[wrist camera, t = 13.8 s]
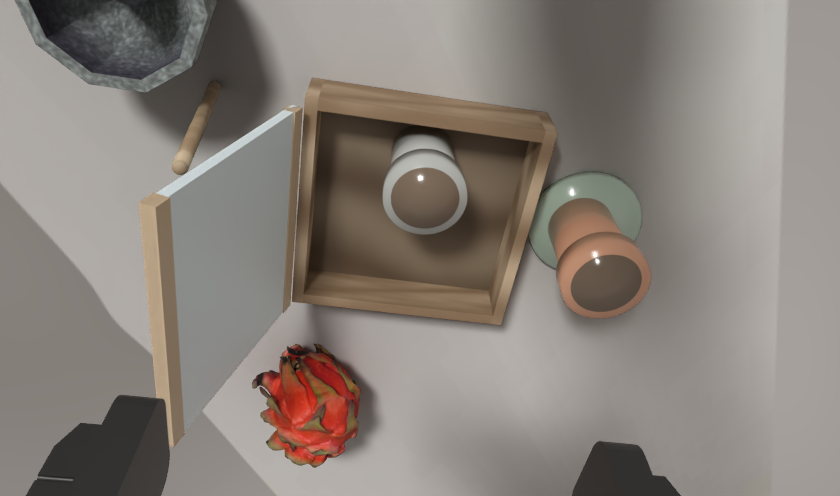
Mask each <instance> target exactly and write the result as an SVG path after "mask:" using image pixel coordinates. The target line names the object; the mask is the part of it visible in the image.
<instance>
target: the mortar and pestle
mask: <svg viewBox="0 0 840 496" xmlns="http://www.w3.org/2000/svg"><path fill="white" fill-rule="evenodd" d="M15 2H16V4H17V6H18V8H19V10H20V12H21V14H22V16H23V18H24V21H25V23H26V25H27V27H28V29H29V31H30V33H31V35H32V37H33V39H34V41H35V43H36V45H38V46H39V47H40V48H42V49H43V50H44V51H46V52H47V53H48V54H50V55H51V56H52V57H53V58H55V59H56V60H57V61H59V62H60V63H61V64H63V65H64V66H65V67H67V68H68V69H69V70H71V71H72V72H73V73H75V74H76V75H77V76H79V77H80V78H81V79H83V80H84V81H85V82H87V83H88V84H91V85H98V86H105V87H112V88H119V89H126V90H133V91H139V92H148V91H150V90H152V89H153V88H155V87H157V86H159V85H161V84H162V83H164V82H166V81H168V80H170V79H171V78H173V77H175V76H177V75H178V74H180V73H182V72H184V71H186V70H187V69H189V68H191V67H192V66H193V65H194V64H195V63H196V62H197V60H198V58H199V55H200V52H201V49H202V46H203V43H204V40H205V37H206V34H207V31H208V28H209V25H210V22H211V18H212V15H213V12H214V9H215V6H216V3H217V2H216V0H15Z"/></svg>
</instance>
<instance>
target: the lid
mask: <svg viewBox="0 0 840 496" xmlns="http://www.w3.org/2000/svg"><path fill="white" fill-rule="evenodd" d="M301 124H302V107H298V106H294V105H291V104H290V105H289V106H287V107H286V108H284V109H283V111H282V112H280V113H279V114H277V115H276V116H274V117H272V118H271V119H269V120H268V121H266V122H265V123H263V124H262V125H260V126H259V127H257V128H255V129H254V130H252V131H251V132H249V133H248V134H246V135H245V136H243V137H242V138H240V139H239V140H237V141H235V142H234V143H232V144H231V145H229V146H228V147H226V148H225V149H223V150H222V151H220V152H219V153H217V154H215V155H214V156H212V157H211V158H209V159H208V160H206V161H205V162H203V163H202V164H200V165H198V166H197V167H195V168H194V169H192V170H191V171H189V172H188V173H186V174H185V175H183V176H182V177H180V178H178V179H177V180H175V181H174V182H172V183H171V184H169V185H168V186H166V187H165V188H163V189H161V190H160V191H158V192H157V193H152V194H151V195H149V196H148V197H146V198H145V199H143V200H141V201H140V202H139V211H140V222H141V233H142V244H143V255H144V266H145V277H146V287H147V298H148V309H149V320H150V331H151V342H152V353H153V364H154V374H155V384H156V396H157V398H160V399H164V401H165V404H166V414H167V426H168V438H169V446H171V447H175V445H176V444H177V443H178V442H179V440H180V439H181V438H182V437H183V436H184V432H185V430H186V429H187V428H188V427H189V426H190V425H191V423H192V422H193V421H194V420H195V418H196V417H197V416H198V415H199V414H200V412H201V411H202V410H203V409H204V407H205V406H206V405H207V404H208V403H209V401H210V400H211V399H212V398H213V397H214V395H215V394H216V393H217V392H218V390H219V389H220V388H221V387H222V386H223V384H224V383H225V382H226V381H227V379H228V378H229V377H230V376H231V375H232V373H233V372H234V371H235V370H236V369H237V367H238V366H239V365H240V364H241V362H242V361H243V360H244V359H245V358H246V356H247V355H248V354H249V353H250V351H251V350H252V349H253V348H254V347H255V345H256V344H257V343H258V342H259V341H260V339H261V338H262V337H263V336H264V334H265V333H266V332H267V331H268V330H269V328H270V327H271V326H272V325H273V323H274V322H275V321H276V320H277V319H278V317H279V316H280V315H281V314H282V313H284V312H285V311H286V310H287V308H288V307H289V306H290V300H291V284H292V268H293V252H294V236H295V220H296V204H297V188H298V172H299V156H300V140H301Z"/></svg>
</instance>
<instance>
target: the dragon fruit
mask: <svg viewBox="0 0 840 496" xmlns="http://www.w3.org/2000/svg"><path fill="white" fill-rule="evenodd" d="M314 345H315V347H316V350H317V351H316V353H314V352H311V351H306V350H304V349H303V348H302V347H301V346H300V345H298V344H295V345H293V346H292V347H290V348H289V347H288V346H287V350H286V351H285V352H283V353H282V356H283V357H282V356H281V357H280V358H282V359H280V365H279V370H280V373H277V372H275V371H272V370H270V372H264V373H261V374H259V375H257V376H256V378H255V379H254V380H253V382H252V386H253V389H254V388H257V386H259V385H261V386H263V387H265V388H266V389H267V390H268V391H269V393H270V394H271V395H269V394H268V393H267V392H266V391H265V390H264V389H263V388H262V387H260V391H261V393H262V394H263V395H264V396H265V397H267V398H268V400H267V403H266V404H267V406H268V407H270V408H268V409H267V410H264V411H263V412H261V415H260V416H261V418H263V420H264V422H267V423H269V424H270V425H272V426H274V427H276V428H277V430H276V431H275V432H274V433H273V435H272V436H271V437H270V439H269V440H268V441H266V444H267V445H268V446H269V448H271V449H272V450H283V449H285V457H286V458H288V459H290V460H291V461H292V462H293V463H295V464H297V465H304V464H310V465H311V466H313V467H314V468H315V467H317V466H319V465H321V464H323V463H324V462H325V460H326V459H327V458H330V457H331V458H334V457H337V456H339V455H340V454H342V453H343V452H344V451H345V446H344V442H345V441H347V440H348V439H349V438H355V437H356V435H357V430H358V422H357V421H356V418H357V414H358V407H359V396H360V392H361V390H360V388H359V387H358V386H357V385H356V383H355V381H352V380H351V378H350V376H349V375H348V373H347V372H346V371H345V370H344V369H343V368H342V367H341V366H340V364H339V363H337V362H336V361H335V360H334V356H333V355H332V354H330V353H329V352H328V351H327V350H325V349H324V348H322V347H321V346H320V345H317V344H314Z"/></svg>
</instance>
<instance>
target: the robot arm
mask: <svg viewBox="0 0 840 496" xmlns="http://www.w3.org/2000/svg"><path fill="white" fill-rule="evenodd" d="M169 457H170V451H169V438H168V426H167V414H166V404H165V401H164V399H160V398H149V397H139V396H128V395H119V396H118V397H117V398H116V399H115V400H114V402H113V404H112V406H111V408H110V410H109V411H108V413H107V415H106V417H105V419H104V421H103V423H102V425H97V424H86V423H80V424H79V425H78V426H77V427H76V428H75V429H74V430H72V431H71V432H70V433H69V434H68V435H67V436H65V437H64V438H63V439H62V440H61V441H60V442H59V443H57V444H56V445H55V446H54V448H53V449H52V451H51V453H50V455H49V456H48V458H47V460H46V462H45V463H44V465H43V467H42V469H41V470H40V472H39V474H38V479H37V480H35V481H34V483H33V484H32V486H31V488H30V489H29V491H28V493H27V495H26V496H161V494H162V491H163V488H164V485H165V482H166V478H167V473H168V467H169V459H170V458H169ZM572 496H681V495H680V494H679V493H678V492H677V491H676V489H675V488H674V487H673V486H672V485H671V483H670V482H669V481H668V480H667V478H666V477H664V476H653V475H652V473H651V470H650V467H649V465H648V462H647V460H646V457H645V455H644V452H643V451H642V449H641V448H640V447H639V446H638V445H633V444H623V443H612V442H601V441H599V442H597V443H596V444H595V445H594V447H593V449H592V451H591V453H590V455H589V457H588V459H587V462H586V464H585V466H584V468H583V470H582V472H581V474H580V477H579V479H578V481H577V483H576V485H575V487H574V490H573V494H572Z"/></svg>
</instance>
